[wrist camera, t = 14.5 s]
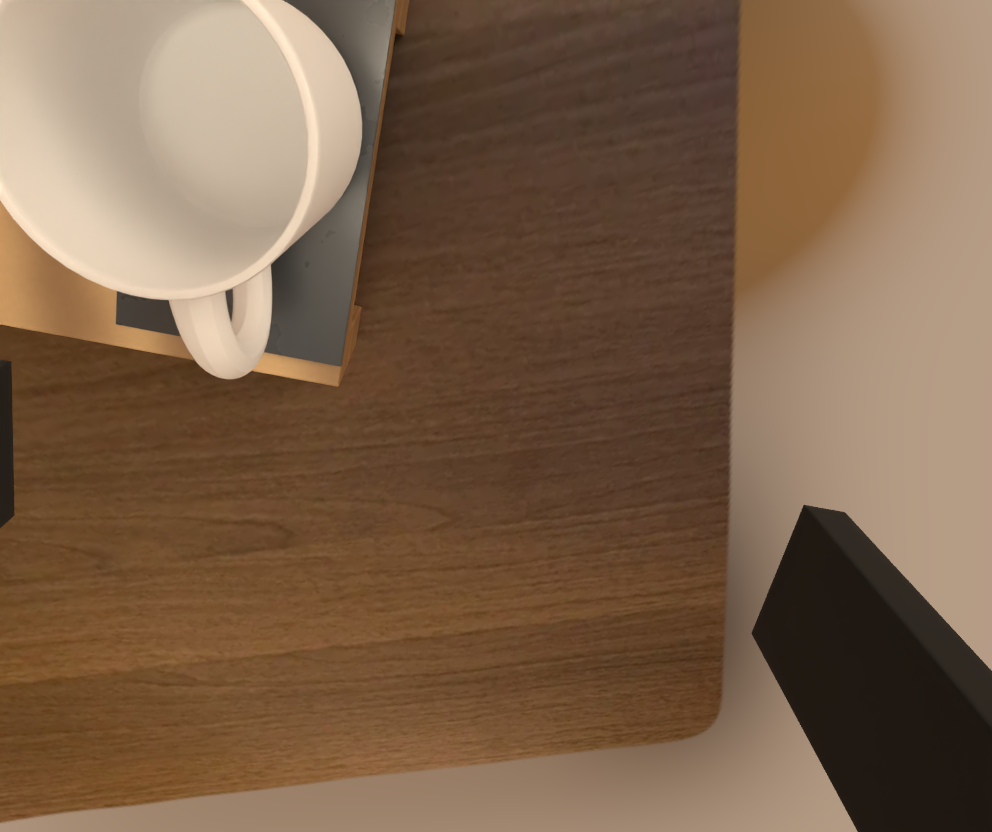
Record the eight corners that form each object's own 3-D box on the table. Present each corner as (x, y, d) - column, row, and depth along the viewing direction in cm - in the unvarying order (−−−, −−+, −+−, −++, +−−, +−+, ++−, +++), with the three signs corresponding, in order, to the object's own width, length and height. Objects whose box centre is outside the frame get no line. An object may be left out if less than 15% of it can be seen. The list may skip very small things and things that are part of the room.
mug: (376, 328, 31) (339, 431, 22) (168, 328, 31) (39, 433, 21) (359, -8, 27) (304, -64, 17) (115, -12, 26) (-81, -73, 17)
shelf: (412, -17, 32) (396, -56, 24) (356, 344, 38) (327, 414, 30) (-159, -161, 29) (-404, -263, 21) (-124, 252, 35) (-305, 301, 27)
